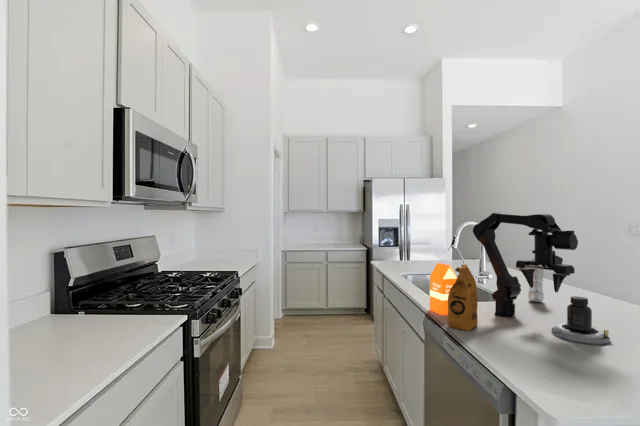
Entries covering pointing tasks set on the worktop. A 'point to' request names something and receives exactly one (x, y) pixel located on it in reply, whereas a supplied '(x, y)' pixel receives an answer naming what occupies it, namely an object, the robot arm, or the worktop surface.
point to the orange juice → (441, 287)
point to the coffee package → (463, 301)
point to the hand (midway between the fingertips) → (543, 289)
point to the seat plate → (581, 335)
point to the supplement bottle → (579, 316)
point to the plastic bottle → (537, 286)
